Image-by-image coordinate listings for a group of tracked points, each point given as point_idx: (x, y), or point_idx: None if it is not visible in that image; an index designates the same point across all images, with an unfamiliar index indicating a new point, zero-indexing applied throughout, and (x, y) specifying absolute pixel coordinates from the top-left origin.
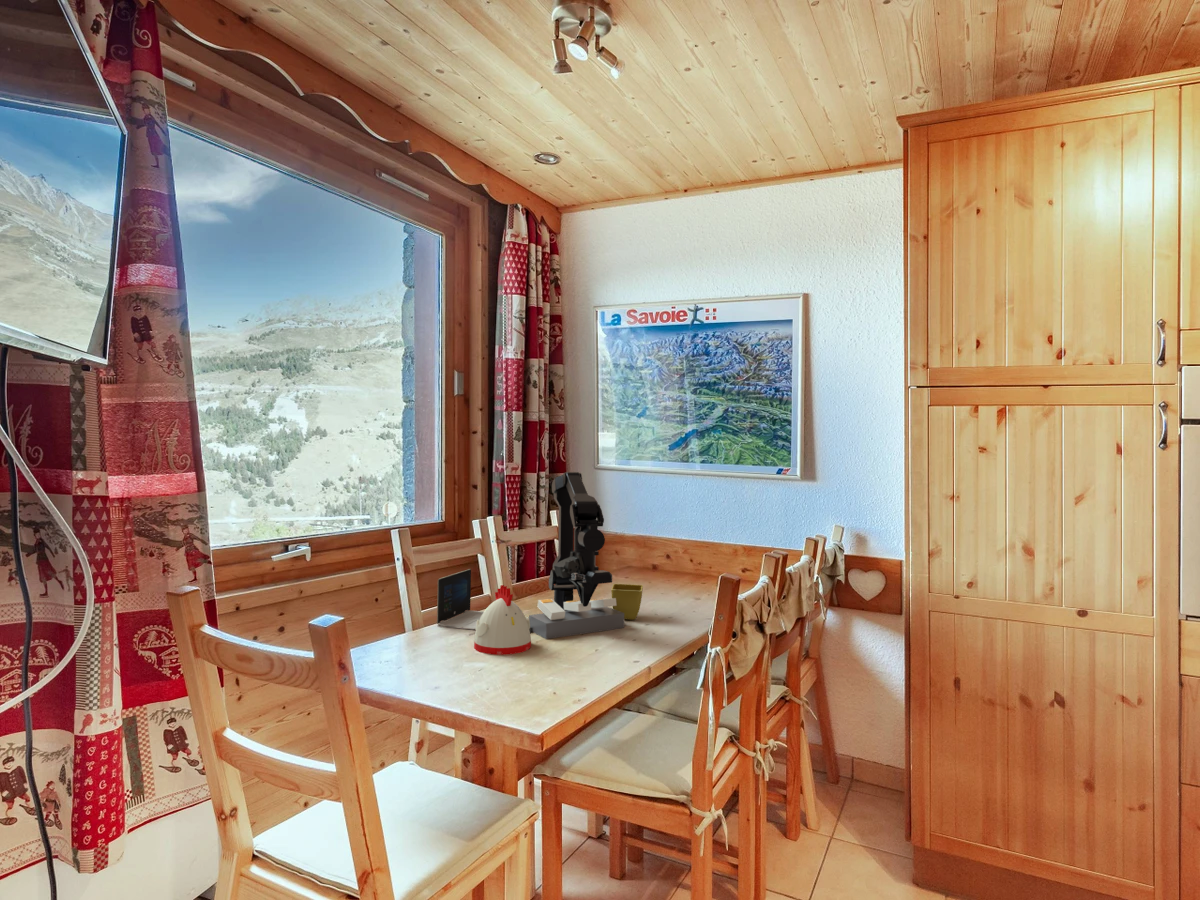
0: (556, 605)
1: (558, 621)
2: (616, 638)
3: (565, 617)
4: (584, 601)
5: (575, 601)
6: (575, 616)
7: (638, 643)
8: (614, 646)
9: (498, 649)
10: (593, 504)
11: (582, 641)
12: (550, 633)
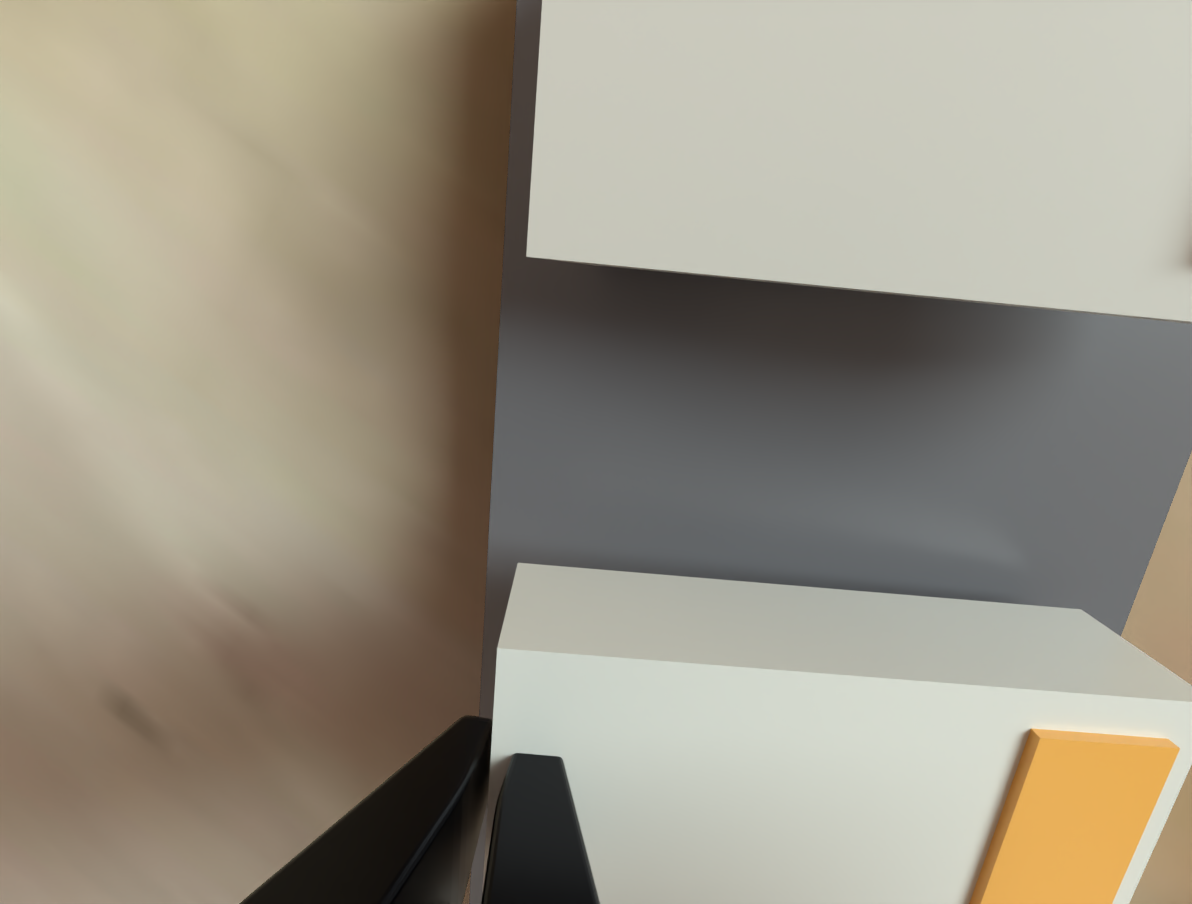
0: (907, 214)
1: (535, 82)
2: (232, 633)
3: (708, 374)
4: (386, 790)
5: (982, 876)
6: (665, 549)
7: (25, 669)
8: (4, 445)
9: None
10: None
11: (276, 287)
12: None
